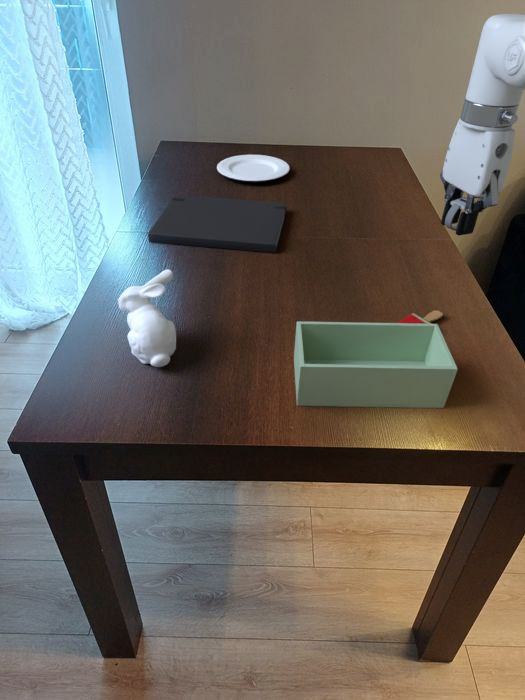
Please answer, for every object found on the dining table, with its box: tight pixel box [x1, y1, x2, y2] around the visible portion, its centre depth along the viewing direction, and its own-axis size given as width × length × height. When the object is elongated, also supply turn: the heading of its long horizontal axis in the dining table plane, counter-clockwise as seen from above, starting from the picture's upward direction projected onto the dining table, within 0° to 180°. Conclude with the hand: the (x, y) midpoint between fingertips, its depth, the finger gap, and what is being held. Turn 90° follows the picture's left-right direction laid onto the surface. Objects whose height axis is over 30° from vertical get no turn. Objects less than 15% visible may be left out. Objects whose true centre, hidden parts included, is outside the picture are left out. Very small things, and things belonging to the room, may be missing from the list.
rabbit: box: [117, 269, 177, 368], centre depth 76 cm, size 12×9×12 cm
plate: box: [216, 154, 291, 184], centre depth 141 cm, size 21×21×2 cm
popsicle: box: [397, 309, 444, 324], centre depth 85 cm, size 5×2×15 cm
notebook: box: [147, 194, 287, 254], centre depth 114 cm, size 22×2×28 cm
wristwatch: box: [444, 196, 477, 232], centre depth 84 cm, size 6×3×5 cm, turn 126°
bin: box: [293, 320, 458, 409], centre depth 72 cm, size 21×10×8 cm, turn 90°
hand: (456, 227), depth 85 cm, fingers closed on wristwatch, 3 cm apart
